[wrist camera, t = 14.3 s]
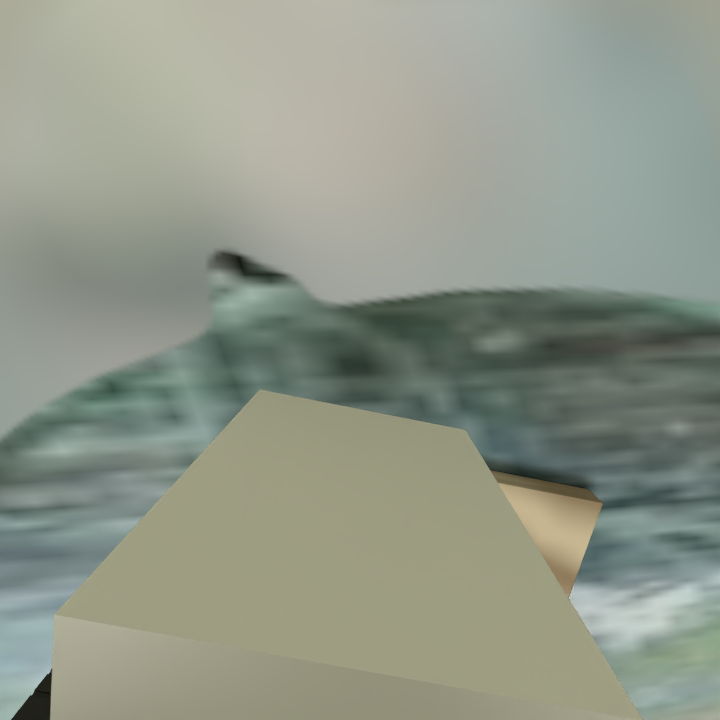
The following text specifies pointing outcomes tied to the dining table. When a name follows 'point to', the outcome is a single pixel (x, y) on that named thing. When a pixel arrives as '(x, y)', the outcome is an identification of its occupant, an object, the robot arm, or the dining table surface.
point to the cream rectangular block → (329, 588)
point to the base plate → (554, 520)
